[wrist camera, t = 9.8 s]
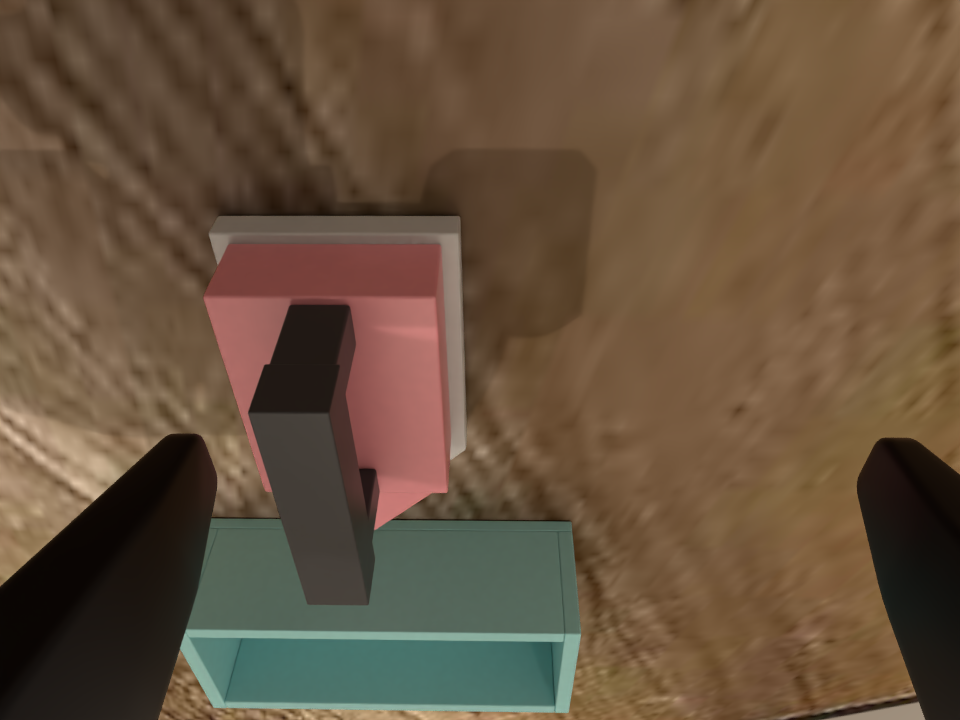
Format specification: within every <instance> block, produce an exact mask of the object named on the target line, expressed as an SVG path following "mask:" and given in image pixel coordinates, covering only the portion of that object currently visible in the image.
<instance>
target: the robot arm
mask: <svg viewBox="0 0 960 720" xmlns="http://www.w3.org/2000/svg"><path fill="white" fill-rule="evenodd" d="M216 491H217V475H216V471H215V468H214V465H213V463H212V460H211V458H210V455H209V452H208V450H207V447H206V445H205V442H204V440H203V438H202V437H201V436H200V435H198V434H170V435H168V436H166V437H164V438H163V439H162V440H161V441H160V442H159V443H158V444H157V445H155V446H154V447H153V448H152V449H151V450H150V451H149V452H148V453H147V454H146V455H144V456H143V457H142V458H141V459H140V460H139V461H138V462H137V463H136V464H135V465H133V466H132V467H131V468H130V469H129V470H128V471H127V472H126V473H125V474H124V475H122V476H121V477H120V478H119V479H118V480H117V481H116V482H115V483H114V484H113V485H111V486H110V487H109V488H108V489H107V490H106V491H105V492H104V493H103V494H102V495H100V496H99V497H98V498H97V499H96V500H95V501H94V502H93V503H92V504H91V505H89V506H88V507H87V508H86V509H85V510H84V511H83V512H82V513H81V514H80V515H78V516H77V517H76V518H75V519H74V520H73V521H72V522H71V523H70V524H69V525H67V526H66V527H65V528H64V529H63V530H62V531H61V532H60V533H59V534H58V535H56V536H55V537H54V538H53V539H52V540H51V541H50V542H49V543H48V544H47V545H45V546H44V547H43V548H42V549H41V550H40V551H39V552H38V553H37V554H36V555H34V556H33V557H32V558H31V559H30V560H29V561H28V562H27V563H26V564H25V565H23V566H22V567H21V568H20V569H19V570H18V571H17V572H16V573H15V574H14V575H12V576H11V577H10V578H9V579H8V580H7V581H6V582H5V583H4V584H3V585H1V586H0V720H158V718H159V715H160V712H161V708H162V705H163V702H164V699H165V695H166V692H167V689H168V686H169V683H170V679H171V676H172V673H173V670H174V666H175V663H176V660H177V657H178V654H179V650H180V647H181V644H182V641H183V638H184V634H185V631H186V628H187V625H188V621H189V618H190V615H191V612H192V608H193V605H194V601H195V598H196V594H197V590H198V586H199V581H200V576H201V571H202V566H203V560H204V555H205V550H206V544H207V539H208V534H209V528H210V523H211V518H212V512H213V507H214V501H215V496H216ZM857 494H858V499H859V503H860V507H861V512H862V516H863V520H864V524H865V529H866V533H867V537H868V542H869V546H870V550H871V554H872V559H873V563H874V567H875V571H876V576H877V580H878V584H879V588H880V591H881V595H882V599H883V602H884V605H885V608H886V611H887V614H888V617H889V620H890V623H891V625H892V628H893V631H894V634H895V637H896V639H897V642H898V645H899V648H900V650H901V653H902V656H903V659H904V662H905V664H906V667H907V670H908V673H909V676H910V678H911V681H912V684H913V687H914V689H915V692H916V695H917V698H918V701H919V703H920V706H921V709H922V711H923V715H924V717H925V720H960V474H958V473H957V472H956V471H955V470H953V469H952V468H951V467H950V466H948V465H947V464H946V463H945V462H943V461H942V460H941V459H939V458H938V457H937V456H936V455H934V454H933V453H932V452H931V451H929V450H928V449H927V448H926V447H924V446H923V445H922V444H921V443H919V442H918V441H916V440H914V439H911V438H881V439H880V440H879V441H877V442H876V444H875V445H874V447H873V449H872V451H871V453H870V455H869V457H868V459H867V461H866V463H865V465H864V467H863V468H862V470H861V472H860V474H859V477H858V481H857Z"/></svg>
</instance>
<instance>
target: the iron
mask: <svg viewBox="0 0 960 720" xmlns="http://www.w3.org/2000/svg"><path fill="white" fill-rule="evenodd" d="M209 237H210V241H211V244H212V248H213V251H214V254H215V258H216V261H217V265H218V267H217V269H216V271H215V273H214V275H213V277H212V279H211V281H210V283H209V285H208V287H207V289H206V291H205V293H204V296H203V299H204V302H205V305H206V308H207V311H208V315H209V318H210V321H211V324H212V327H213V330H214V333H215V336H216V339H217V343H218V346H219V349H220V352H221V355H222V358H223V361H224V364H225V368H226V371H227V374H228V377H229V380H230V383H231V386H232V389H233V392H234V396H235V399H236V402H237V405H238V408H239V411H240V414H241V417H242V421H243V424H244V427H245V430H246V433H247V436H248V439H249V442H250V445H251V449H252V452H253V455H254V458H255V461H256V464H257V467H258V470H259V473H260V477H261V480H262V483H263V486H264V489H265V491H267V492H273V496H274V499H275V502H276V505H277V509H278V512H279V515H280V518H281V521H282V525H283V528H284V531H285V534H286V537H287V541H288V544H289V547H290V550H291V554H292V557H293V560H294V563H295V566H296V570H297V573H298V576H299V579H300V582H301V586H302V589H303V592H304V595H305V599H306V602H307V604H308V605H369V600H370V593H371V586H372V579H373V572H374V565H375V554H374V549H373V543H372V541H373V534H374V531H375V530H376V529H378V528H379V527H381V526H382V525H384V524H385V523H387V522H388V521H390V520H391V519H393V518H394V517H396V516H397V515H399V514H401V513H402V512H404V511H405V510H407V509H408V508H410V507H411V506H413V505H414V504H416V503H417V502H419V501H420V500H422V499H424V498H425V497H427V496H428V495H430V494H431V493H447V491H448V482H449V466H450V460H451V459H453V458H454V457H456V456H457V455H459V454H460V453H462V452H463V451H465V448H466V439H467V417H466V385H465V352H464V320H463V287H462V254H461V222H460V217H459V216H218V217H217V219H216V220H215V222H214V224H213V226H212V228H211V230H210V232H209Z"/></svg>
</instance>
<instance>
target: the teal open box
mask: <svg viewBox="0 0 960 720" xmlns="http://www.w3.org/2000/svg"><path fill="white" fill-rule="evenodd" d="M372 543H373V549H374V554H375V565H374V572H373V579H372V586H371V593H370V600H369V605H308V604H307V602H306V599H305V595H304V592H303V589H302V586H301V582H300V579H299V576H298V573H297V570H296V566H295V563H294V560H293V557H292V554H291V550H290V547H289V544H288V541H287V537H286V534H285V531H284V528H283V525H282V521H281V519H223V518H211V523H210V528H209V534H208V539H207V544H206V550H205V555H204V560H203V566H202V571H201V576H200V581H199V586H198V590H197V594H196V598H195V601H194V605H193V608H192V612H191V615H190V618H189V621H188V625H187V628H186V631H185V634H184V638H183V641H182V644H181V647H180V650H181V651H182V653H183V655H184V657H185V658H186V660H187V662H188V664H189V665H190V667H191V669H192V671H193V672H194V674H195V676H196V678H197V679H198V681H199V683H200V685H201V686H202V688H203V690H204V692H205V693H206V695H207V697H208V699H209V700H210V702H211V704H212V705H213V707H214V708H227V707H228V708H275V709H345V710H416V711H487V712H554V711H555V712H556V713H568V712H569V706H570V700H571V694H572V688H573V681H574V675H575V669H576V663H577V656H578V650H579V644H580V638H581V627H580V616H579V604H578V593H577V581H576V570H575V559H574V547H573V536H572V524H571V522H559V521H447V520H390V521H388V522H387V523H385V524H384V525H382V526H381V527H379V528H378V529H376V530H375V531H374V534H373V541H372Z"/></svg>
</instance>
